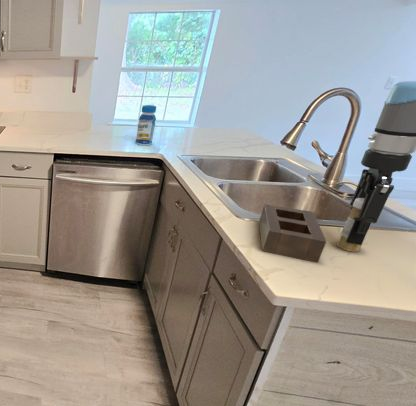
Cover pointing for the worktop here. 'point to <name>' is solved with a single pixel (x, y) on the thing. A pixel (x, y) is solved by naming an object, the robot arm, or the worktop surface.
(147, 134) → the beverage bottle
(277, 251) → the spice stand
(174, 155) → the worktop surface
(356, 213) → the sprinkles bottle
